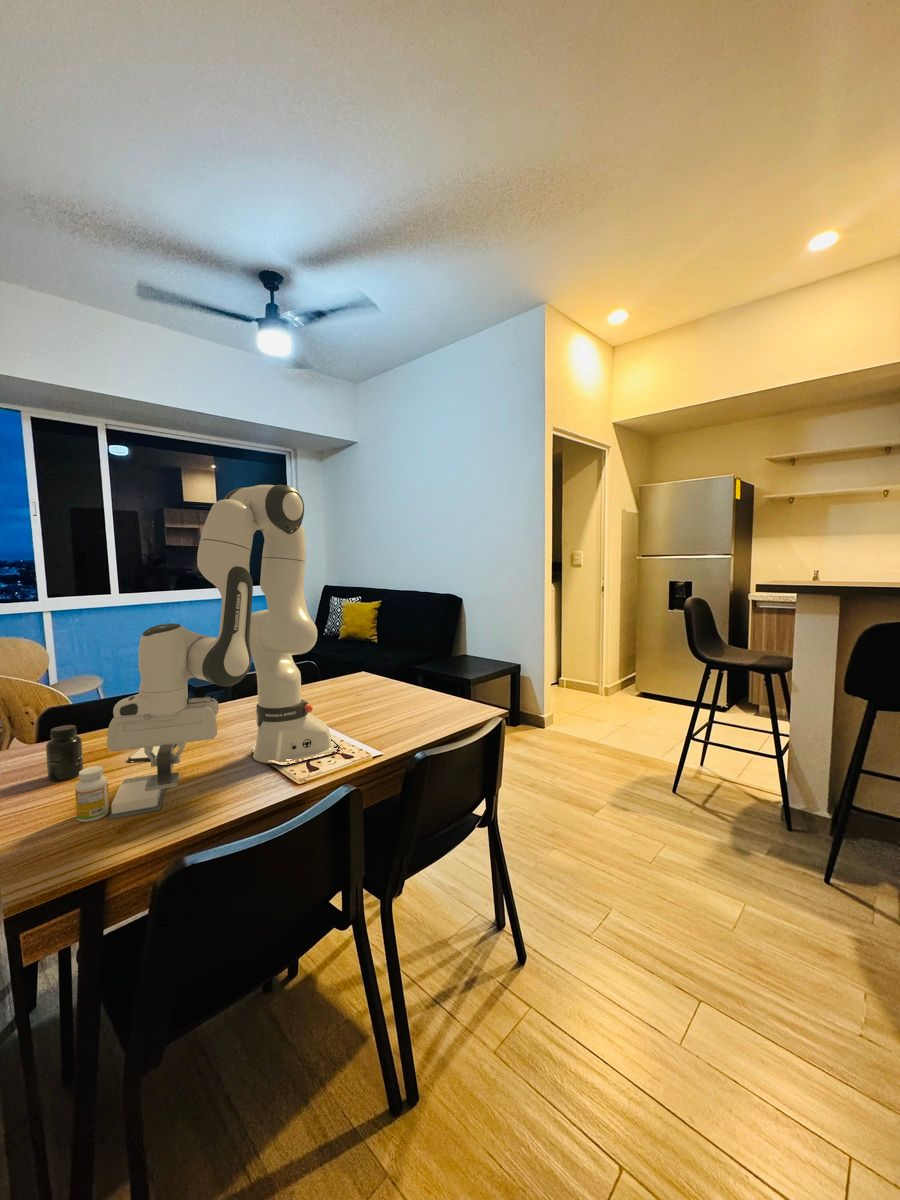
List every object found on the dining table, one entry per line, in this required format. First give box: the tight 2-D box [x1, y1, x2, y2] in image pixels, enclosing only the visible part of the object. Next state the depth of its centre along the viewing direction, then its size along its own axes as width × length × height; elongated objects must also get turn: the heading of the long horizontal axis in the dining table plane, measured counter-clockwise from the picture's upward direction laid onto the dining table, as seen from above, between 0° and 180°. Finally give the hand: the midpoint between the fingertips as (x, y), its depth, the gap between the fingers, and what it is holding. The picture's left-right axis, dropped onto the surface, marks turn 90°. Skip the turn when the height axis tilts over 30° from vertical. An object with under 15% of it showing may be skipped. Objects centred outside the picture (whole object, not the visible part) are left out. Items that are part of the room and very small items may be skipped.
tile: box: [111, 780, 162, 815], centre depth 105 cm, size 8×2×10 cm
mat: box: [107, 773, 166, 820], centre depth 108 cm, size 9×19×1 cm, turn 25°
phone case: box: [127, 744, 178, 762], centre depth 134 cm, size 9×2×16 cm
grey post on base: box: [145, 744, 180, 791], centre depth 101 cm, size 12×6×5 cm, turn 25°
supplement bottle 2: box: [74, 765, 110, 823], centre depth 99 cm, size 5×5×10 cm
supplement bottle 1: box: [45, 724, 84, 782], centre depth 117 cm, size 7×7×12 cm
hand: (165, 764), depth 104 cm, fingers closed on grey post on base, 2 cm apart
